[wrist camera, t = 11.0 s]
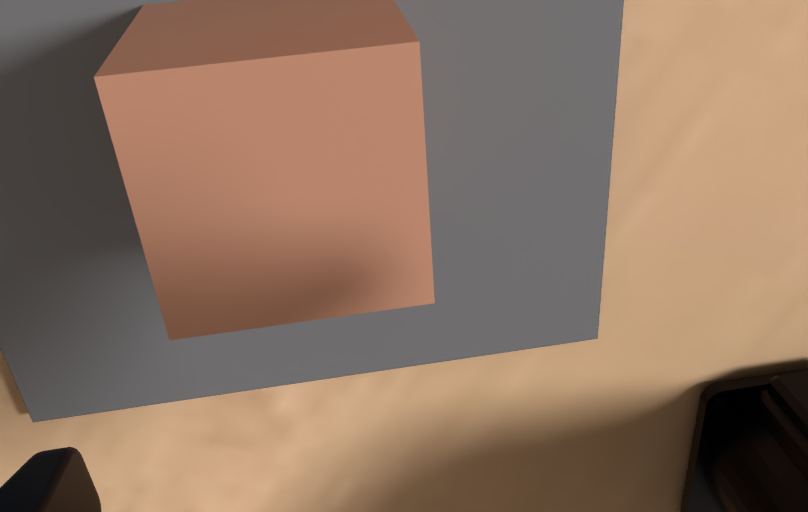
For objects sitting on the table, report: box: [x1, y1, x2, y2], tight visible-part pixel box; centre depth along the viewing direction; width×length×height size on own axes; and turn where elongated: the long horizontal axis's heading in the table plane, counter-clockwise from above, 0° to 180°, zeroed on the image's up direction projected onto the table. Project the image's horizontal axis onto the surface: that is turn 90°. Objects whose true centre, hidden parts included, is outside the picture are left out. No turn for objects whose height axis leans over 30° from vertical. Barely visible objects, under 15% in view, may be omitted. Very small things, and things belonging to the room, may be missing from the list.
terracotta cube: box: [94, 0, 435, 340], centre depth 15 cm, size 5×5×5 cm
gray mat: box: [0, 0, 624, 422], centre depth 17 cm, size 16×16×1 cm
